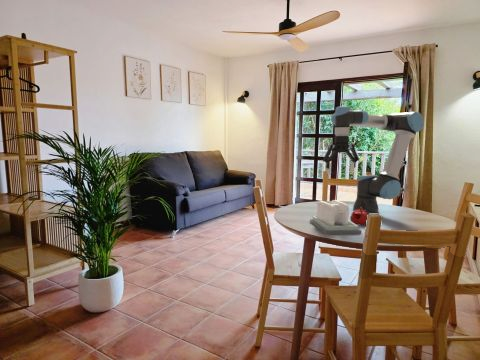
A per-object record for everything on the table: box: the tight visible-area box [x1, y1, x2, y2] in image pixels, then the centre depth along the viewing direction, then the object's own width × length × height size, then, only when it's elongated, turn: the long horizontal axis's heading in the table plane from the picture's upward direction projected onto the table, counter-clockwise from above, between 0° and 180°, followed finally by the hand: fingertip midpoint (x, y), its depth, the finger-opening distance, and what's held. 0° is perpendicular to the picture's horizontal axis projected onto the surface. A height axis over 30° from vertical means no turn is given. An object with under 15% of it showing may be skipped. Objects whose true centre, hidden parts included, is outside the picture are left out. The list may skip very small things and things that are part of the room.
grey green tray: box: [309, 215, 362, 235], centre depth 158 cm, size 18×22×4 cm
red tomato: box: [349, 207, 369, 226], centre depth 166 cm, size 10×10×9 cm
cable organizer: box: [316, 199, 350, 226], centre depth 158 cm, size 15×11×12 cm
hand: (340, 174), depth 170 cm, fingers open, 13 cm apart
